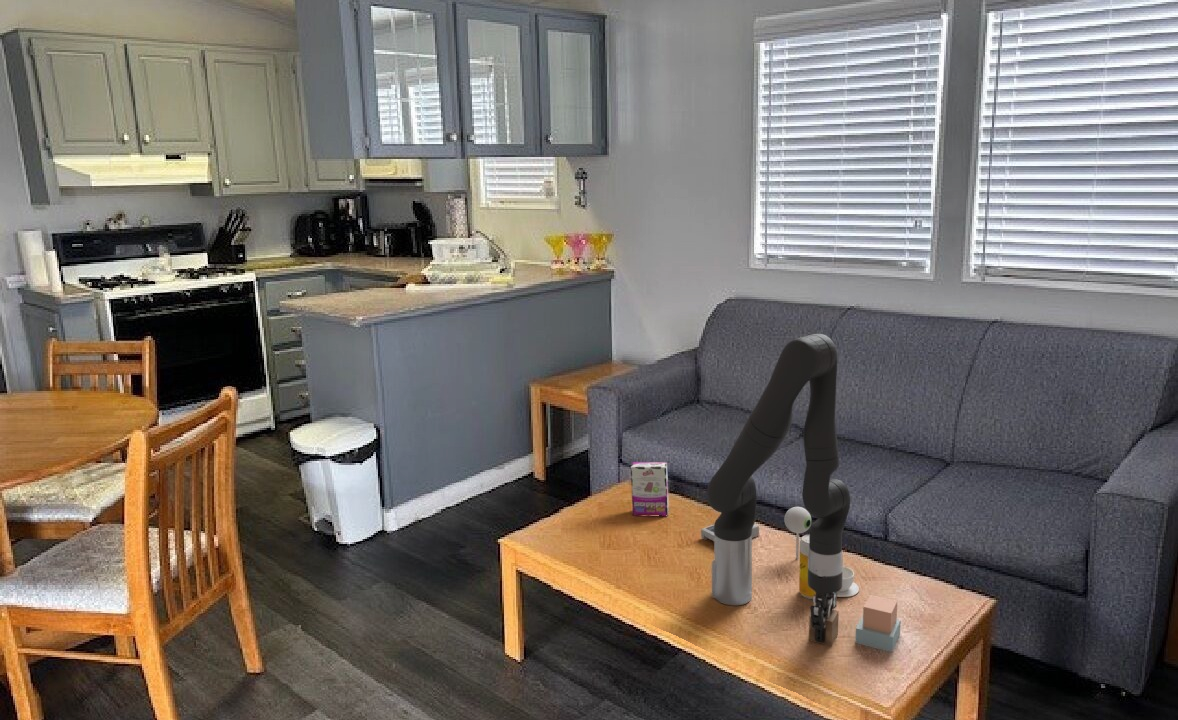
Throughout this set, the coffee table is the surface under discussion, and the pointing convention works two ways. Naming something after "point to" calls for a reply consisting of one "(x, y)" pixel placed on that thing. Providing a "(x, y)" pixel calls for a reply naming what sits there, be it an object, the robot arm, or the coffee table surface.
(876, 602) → the tower top
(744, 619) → the coffee table surface
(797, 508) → the lollipop
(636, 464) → the candy bar box
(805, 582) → the beer can
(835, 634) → the walnut block
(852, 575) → the teacup
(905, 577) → the coffee table surface
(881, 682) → the coffee table surface
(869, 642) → the tower base
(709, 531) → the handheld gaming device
